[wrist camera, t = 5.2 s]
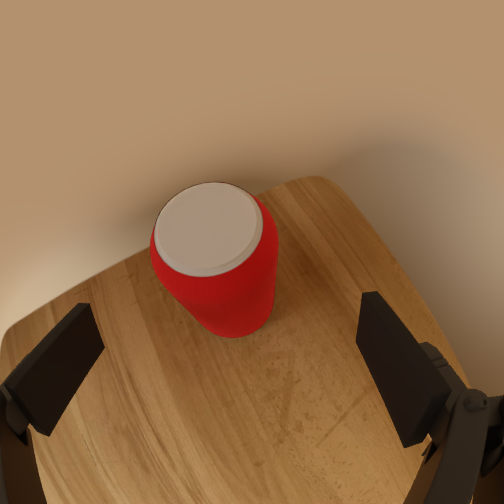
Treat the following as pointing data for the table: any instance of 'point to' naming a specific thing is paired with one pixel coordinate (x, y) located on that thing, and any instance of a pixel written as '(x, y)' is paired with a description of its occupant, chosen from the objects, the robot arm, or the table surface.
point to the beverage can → (218, 256)
